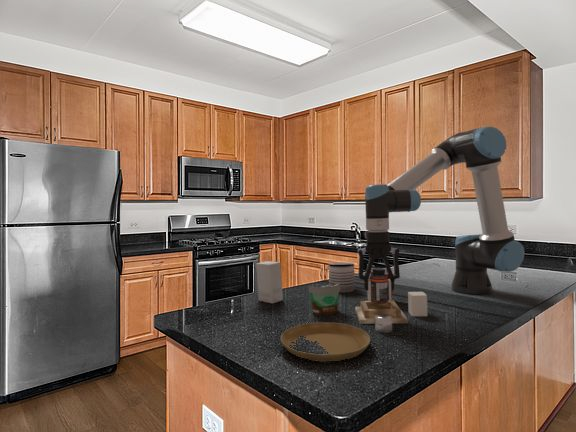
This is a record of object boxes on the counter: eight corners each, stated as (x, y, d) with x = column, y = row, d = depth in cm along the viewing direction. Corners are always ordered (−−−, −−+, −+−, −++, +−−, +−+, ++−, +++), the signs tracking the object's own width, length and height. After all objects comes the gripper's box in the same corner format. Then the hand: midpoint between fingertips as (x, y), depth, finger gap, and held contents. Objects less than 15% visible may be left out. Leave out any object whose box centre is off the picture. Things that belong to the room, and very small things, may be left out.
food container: (318, 318, 127) (317, 289, 126) (309, 314, 132) (308, 286, 132) (348, 312, 132) (347, 284, 132) (338, 308, 138) (337, 281, 137)
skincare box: (283, 300, 152) (281, 262, 151) (271, 304, 147) (269, 264, 146) (268, 297, 157) (267, 260, 157) (257, 301, 152) (255, 262, 152)
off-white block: (423, 311, 130) (422, 291, 130) (427, 316, 125) (426, 295, 125) (408, 311, 131) (407, 292, 130) (412, 316, 126) (411, 295, 125)
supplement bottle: (368, 300, 130) (367, 267, 129) (385, 299, 130) (384, 266, 130) (373, 304, 124) (372, 270, 123) (391, 303, 124) (390, 269, 124)
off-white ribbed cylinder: (326, 291, 164) (325, 264, 163) (333, 285, 174) (332, 259, 174) (352, 293, 159) (351, 264, 159) (357, 287, 170) (356, 260, 169)
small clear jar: (390, 327, 116) (390, 314, 116) (393, 332, 112) (393, 319, 111) (374, 327, 117) (373, 314, 117) (376, 332, 112) (376, 319, 112)
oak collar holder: (397, 309, 134) (397, 299, 134) (408, 323, 119) (407, 311, 119) (355, 310, 135) (354, 299, 135) (360, 323, 120) (359, 312, 120)
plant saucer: (359, 330, 115) (359, 319, 115) (381, 365, 91) (381, 351, 91) (280, 334, 114) (280, 323, 114) (281, 370, 90) (281, 356, 90)
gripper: (350, 232, 123) (352, 302, 124) (409, 231, 121) (410, 302, 122) (348, 230, 130) (350, 297, 131) (403, 229, 129) (405, 296, 130)
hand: (379, 299), depth 127 cm, fingers closed on supplement bottle, 6 cm apart
